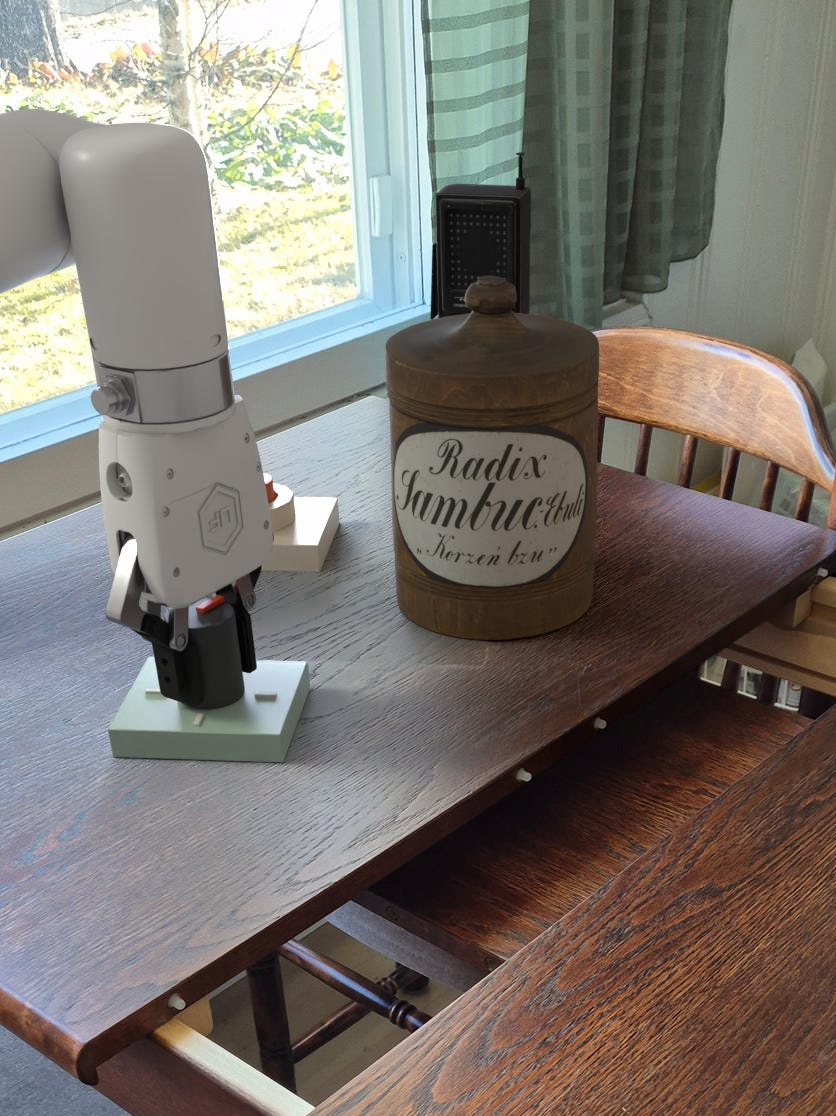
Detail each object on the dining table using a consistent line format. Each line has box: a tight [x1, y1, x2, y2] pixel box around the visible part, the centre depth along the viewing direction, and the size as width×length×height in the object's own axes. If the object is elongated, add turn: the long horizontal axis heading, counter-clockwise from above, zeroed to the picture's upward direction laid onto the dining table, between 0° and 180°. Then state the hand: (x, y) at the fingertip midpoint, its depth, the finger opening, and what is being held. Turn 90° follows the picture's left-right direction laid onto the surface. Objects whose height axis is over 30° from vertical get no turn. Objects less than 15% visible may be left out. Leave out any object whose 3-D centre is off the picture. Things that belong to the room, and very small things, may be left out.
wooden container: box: [384, 276, 600, 641], centre depth 101 cm, size 15×15×22 cm
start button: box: [263, 472, 275, 503], centre depth 113 cm, size 4×4×2 cm
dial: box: [163, 595, 245, 709], centre depth 91 cm, size 4×4×6 cm
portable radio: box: [429, 151, 532, 320], centre depth 118 cm, size 8×6×25 cm
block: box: [261, 482, 341, 573], centre depth 115 cm, size 12×10×4 cm
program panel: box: [107, 656, 311, 763], centre depth 94 cm, size 11×10×2 cm
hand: (209, 680), depth 92 cm, fingers closed on dial, 4 cm apart
